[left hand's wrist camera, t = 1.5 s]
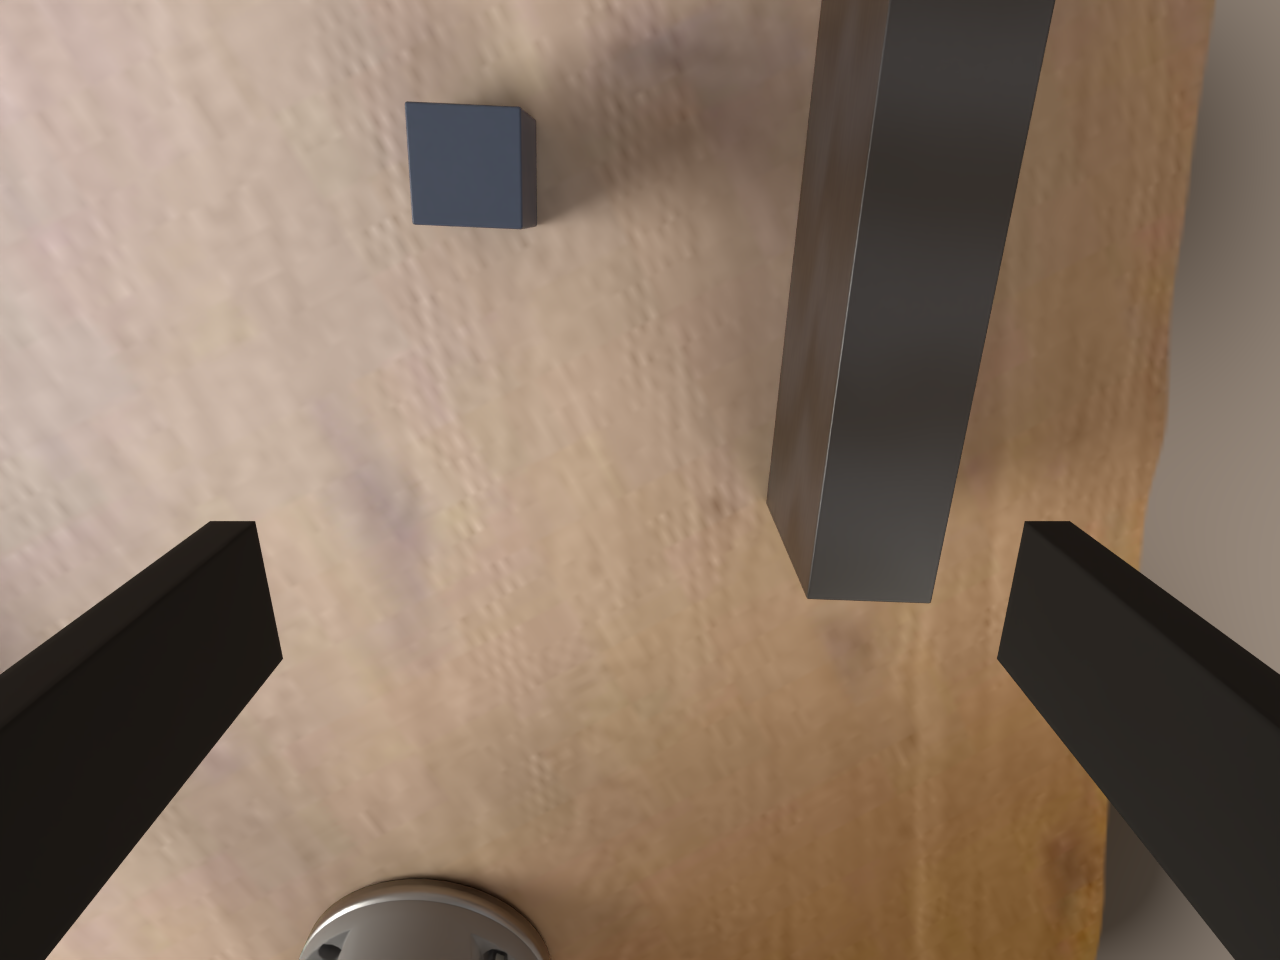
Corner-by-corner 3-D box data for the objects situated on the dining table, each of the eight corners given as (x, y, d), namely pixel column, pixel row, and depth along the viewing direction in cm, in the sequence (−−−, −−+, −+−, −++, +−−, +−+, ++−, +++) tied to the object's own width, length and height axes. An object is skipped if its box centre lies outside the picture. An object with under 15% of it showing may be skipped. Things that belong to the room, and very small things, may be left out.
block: (860, 507, 35) (931, 603, 26) (765, 504, 35) (806, 599, 26) (969, -178, 25) (1132, -368, 17) (841, -184, 25) (941, -378, 17)
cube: (537, 226, 30) (522, 229, 26) (440, 222, 30) (412, 224, 26) (536, 119, 29) (520, 106, 25) (434, 114, 29) (403, 101, 25)
